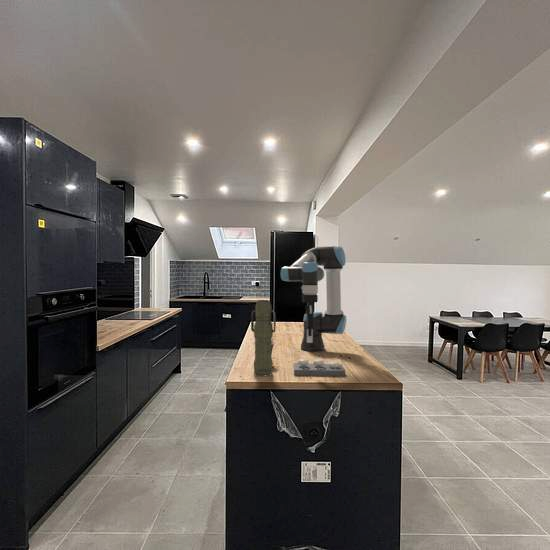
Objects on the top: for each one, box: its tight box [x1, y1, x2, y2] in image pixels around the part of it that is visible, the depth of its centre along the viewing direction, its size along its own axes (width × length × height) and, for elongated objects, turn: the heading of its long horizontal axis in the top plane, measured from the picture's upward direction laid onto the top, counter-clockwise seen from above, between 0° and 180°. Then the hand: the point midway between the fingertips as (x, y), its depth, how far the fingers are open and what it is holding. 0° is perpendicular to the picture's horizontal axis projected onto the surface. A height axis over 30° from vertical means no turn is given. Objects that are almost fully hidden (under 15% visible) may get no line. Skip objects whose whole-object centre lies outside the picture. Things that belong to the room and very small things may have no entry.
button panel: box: [293, 363, 346, 377], centre depth 174 cm, size 12×24×3 cm, turn 87°
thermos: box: [250, 299, 277, 376], centre depth 171 cm, size 9×12×35 cm
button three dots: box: [313, 358, 325, 368], centre depth 174 cm, size 5×5×4 cm
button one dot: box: [328, 361, 340, 368], centre depth 174 cm, size 5×5×4 cm
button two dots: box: [297, 358, 309, 368], centre depth 175 cm, size 5×5×4 cm
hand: (309, 342), depth 174 cm, fingers closed
